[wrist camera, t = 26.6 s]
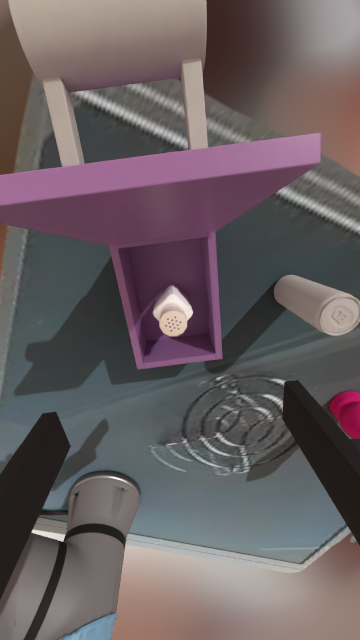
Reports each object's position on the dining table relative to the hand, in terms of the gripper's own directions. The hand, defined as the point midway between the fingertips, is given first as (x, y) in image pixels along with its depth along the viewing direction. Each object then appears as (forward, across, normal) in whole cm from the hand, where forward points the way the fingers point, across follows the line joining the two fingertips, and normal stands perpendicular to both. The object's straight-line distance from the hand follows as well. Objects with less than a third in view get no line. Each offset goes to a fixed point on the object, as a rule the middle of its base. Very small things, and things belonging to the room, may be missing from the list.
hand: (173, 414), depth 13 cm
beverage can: (+24, +18, -1) cm, 30 cm away
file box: (+24, 0, +1) cm, 24 cm away
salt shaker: (+23, 0, 0) cm, 23 cm away
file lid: (+7, 0, +10) cm, 12 cm away
